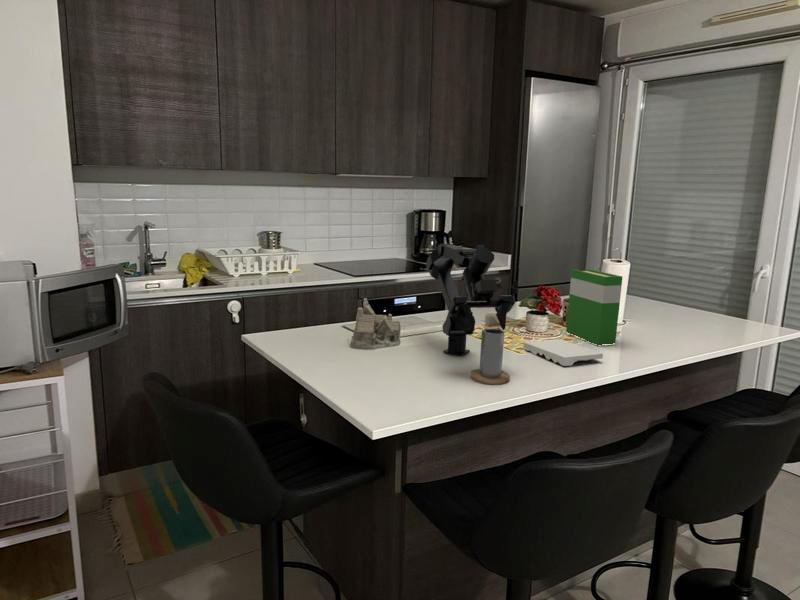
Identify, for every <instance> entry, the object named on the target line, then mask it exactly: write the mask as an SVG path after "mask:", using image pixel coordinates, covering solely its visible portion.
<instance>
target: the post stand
mask: <svg viewBox="0 0 800 600" xmlns="http://www.w3.org/2000/svg"><path fill="white" fill-rule="evenodd" d="M479 370H480V368H477V369H473V370H471V371H470V373H469V379H471V380H472V381H474V382H475V383H479V384H483V385H489V386H495V385H496V386H497V385H498V386H499V385H505V384H508V383H509V382H510V381H511V375H510V373H507V372H506V371H503V370H502V372H501V376H500V377H499V378H487V377H482V376H481V375H480V374H479Z"/></svg>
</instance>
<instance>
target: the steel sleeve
mask: <svg viewBox="0 0 800 600" xmlns="http://www.w3.org/2000/svg"><path fill="white" fill-rule="evenodd" d="M504 340H505V331H504V330H502V329H500V330H498V329H485V328H483V330H481V340H480V342H481V343H480V356H479V357H480V358H479V369H480V370H479V374H480V375H481V376H482V377H487V378H499V377H500V376H501V372H502V371H503V370H502V369H503V356H504Z"/></svg>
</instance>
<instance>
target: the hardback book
mask: <svg viewBox="0 0 800 600" xmlns="http://www.w3.org/2000/svg"><path fill="white" fill-rule="evenodd" d="M570 273H571V274H570V275H571V276H570V285H569V287H570V288H569V295H568V296H569V297H568V306H567V317H566V329H565V333H566V332H568V333H570V334H573V335H576V336H578V337H580V338H583V339H585V340H587V341H589V342H591V343H594V344H597V345H602V344H613V343H615V344H616V342H617V332H618V323H619V312H620V304H621V295H622V285H623V276H622V275H617V274H613V273H609V272H603V271H600V270H599V271H598V270H595V269H590V268H586V270H578V269H575V268H574V269H573V268H572V269H571V272H570ZM591 343H590V344H591Z"/></svg>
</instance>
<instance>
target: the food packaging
mask: <svg viewBox="0 0 800 600" xmlns="http://www.w3.org/2000/svg"><path fill="white" fill-rule="evenodd" d="M522 349H525V350H526V352H531V354H532V355H534V356H537V355H540V356H543V355H544V357H545V359H546V360H549V361H550V360H552V361H553V363H555V364H559V365H561V366H564V367H569V366H573V365H574V363H579V362H583V361H584V362H587V361H588V362H590V361H592V360H597V359H598V360H600V359H601V360H602V359H603V357H604V353H603V352H599V351H597V350H592V349H590V348H587V347H584V346H581V345H578V344H576V343H573V342H570V341H566V340H563V339H561V338H559V339H547V340H546V339H545V340H535V341H524V342H523V348H522ZM589 360H590V361H589ZM578 361H579V362H578Z"/></svg>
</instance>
